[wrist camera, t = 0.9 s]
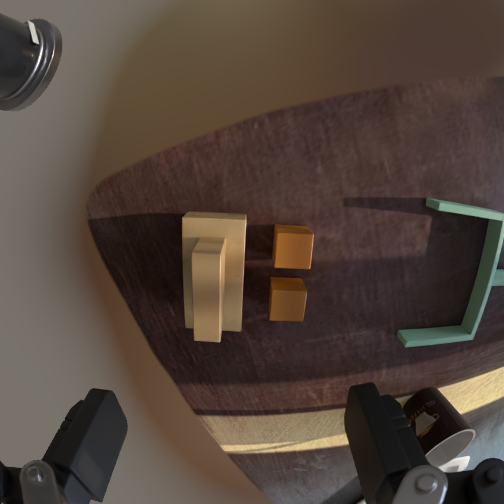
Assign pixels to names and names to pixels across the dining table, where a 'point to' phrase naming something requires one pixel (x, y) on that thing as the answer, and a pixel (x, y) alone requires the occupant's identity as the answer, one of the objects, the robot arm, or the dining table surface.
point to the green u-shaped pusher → (485, 278)
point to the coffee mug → (438, 426)
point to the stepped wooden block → (213, 272)
